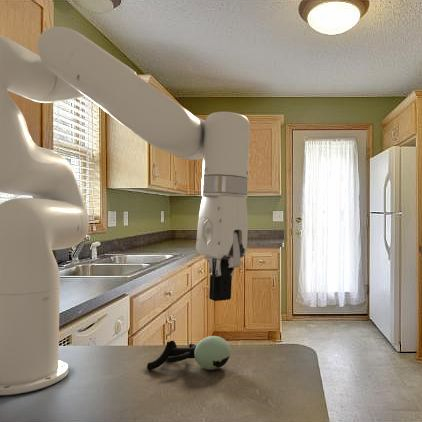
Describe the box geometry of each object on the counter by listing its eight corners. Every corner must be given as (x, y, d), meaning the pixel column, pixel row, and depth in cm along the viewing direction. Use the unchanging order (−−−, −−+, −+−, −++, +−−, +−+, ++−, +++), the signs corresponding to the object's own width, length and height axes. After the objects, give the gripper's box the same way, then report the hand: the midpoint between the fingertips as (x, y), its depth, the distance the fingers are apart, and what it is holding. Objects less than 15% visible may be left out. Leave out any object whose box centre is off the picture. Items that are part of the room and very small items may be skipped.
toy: (143, 377, 69) (222, 377, 67) (142, 344, 70) (220, 342, 67) (168, 360, 79) (238, 359, 76) (167, 331, 79) (237, 329, 77)
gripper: (186, 188, 67) (181, 293, 67) (225, 184, 55) (219, 312, 55) (224, 191, 72) (220, 289, 71) (268, 188, 60) (263, 306, 59)
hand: (220, 299), depth 63 cm, fingers closed
